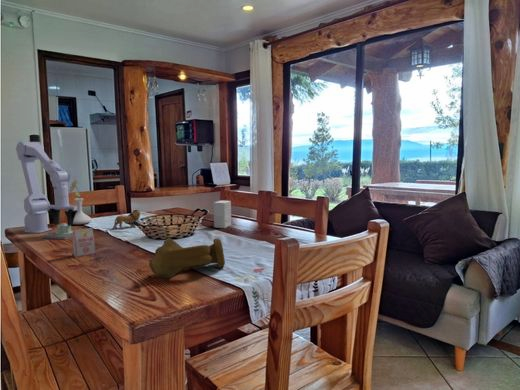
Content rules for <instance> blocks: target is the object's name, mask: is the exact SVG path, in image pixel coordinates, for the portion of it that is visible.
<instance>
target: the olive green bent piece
mask: <svg viewBox="0 0 520 390" xmlns="http://www.w3.org/2000/svg"><path fill="white" fill-rule="evenodd" d="M212 242H213V243H212V244H210V245H208V244H207V245H206V244H204V245H202V244H201V245H192V246H189V247H187V246H186V247H183V246H181V245H180V244H179V243H177V242H176V241H175V240H174V239H172V238H171V237H167V238H166V239H165V240H164V241H163V244H162V245H161V246H159V247H157V248H156V250H155V251H154V254H153V256H152V257H151V258H150V260H149V262H148V263H149V264H148V265H149V268H150V270H151V271H152V273H153V274H154V275H155V277H157V278H158V277H159V278H164V279H171V278H173V277H174V276H175V275H176V274H177V273H178V272H180V271H184V272H187V271H190V270H192V269H197V268H198V269H199V268H202V267H206V266H208V265H211V264H217V265H218V266H219V267H220V268H222V267H223V266H225V264H226V263H225V261H226V260H225V255H224V248H223V243H222V240H221V239H220V238H213V241H212Z"/></svg>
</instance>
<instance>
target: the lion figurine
mask: <svg viewBox="0 0 520 390" xmlns="http://www.w3.org/2000/svg"><path fill="white" fill-rule="evenodd" d="M140 216H141V211H140V210H139V209H138V208H137V209H136V208H135V209H134V210H132V211H131V213H129V214H128V215H118V216H116V217H115V220H114V225H113V227H112V228H111V229H112V230H114V229H118V227H117V226H118V225H119V228H120V230H125V229H124V227H122V225H123V223H130V227H131V228H136V227H137V226H136V223H135V224H134V223H133V222H134V221H135V222H138V221H139V219H140V218H141V217H140ZM132 223H133V224H132Z"/></svg>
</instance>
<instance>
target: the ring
mask: <svg viewBox="0 0 520 390" xmlns="http://www.w3.org/2000/svg"><path fill="white" fill-rule="evenodd" d="M66 224H67V226H61V224H58V225H56V228H57V229H56V230H57V232H58V233H59V234H64V233H70V232H71V230H72V225H71V226H68V223H66Z"/></svg>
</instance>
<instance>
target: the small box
mask: <svg viewBox="0 0 520 390" xmlns="http://www.w3.org/2000/svg"><path fill="white" fill-rule="evenodd" d="M213 224H214V225H213V228H220V229H226V228H228V227H230V226H232V201H231V200H217V201H214V202H213Z"/></svg>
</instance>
